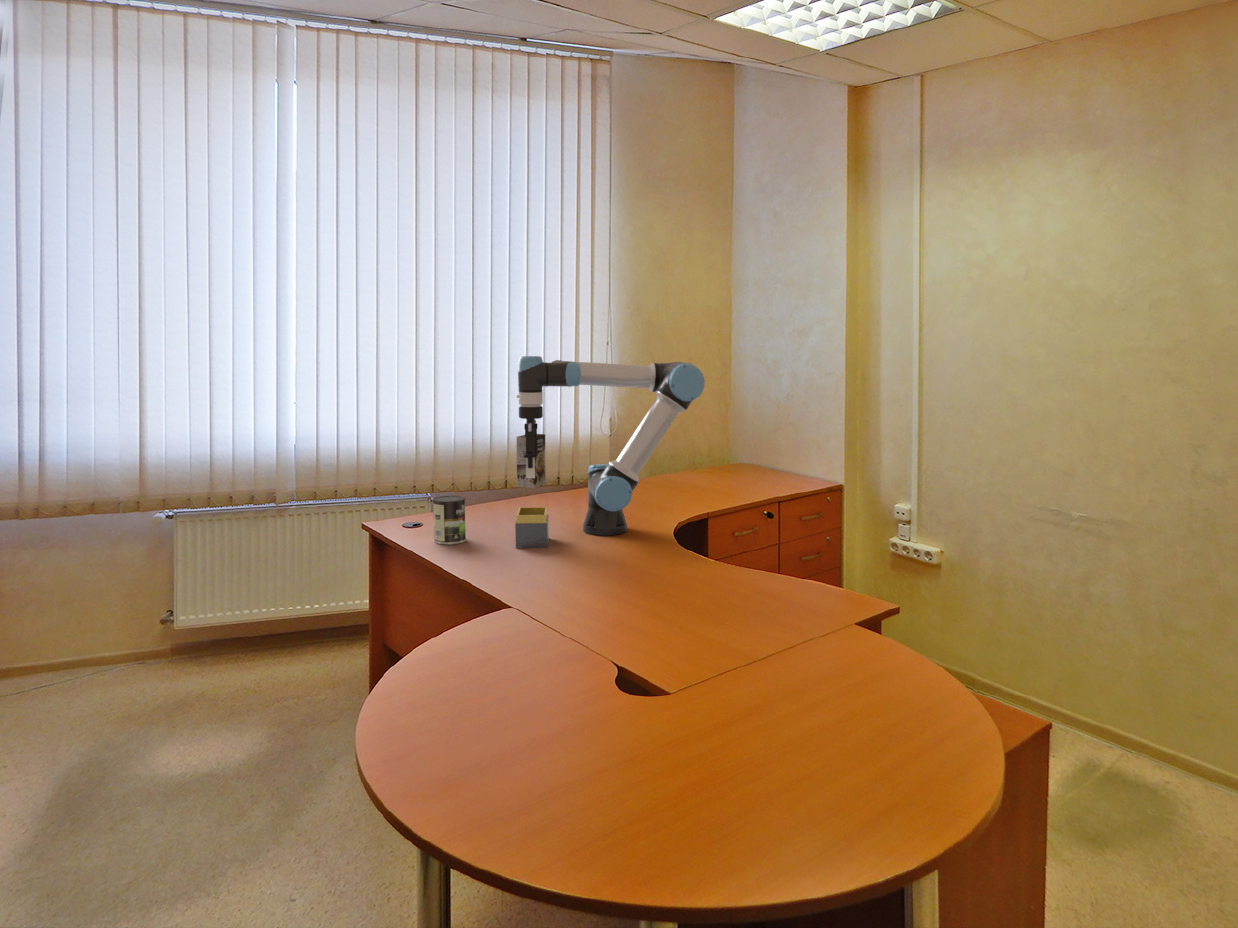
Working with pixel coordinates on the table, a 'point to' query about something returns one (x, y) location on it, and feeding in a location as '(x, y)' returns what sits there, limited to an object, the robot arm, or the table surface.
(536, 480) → the coffee box
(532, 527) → the grey yellow open box
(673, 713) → the table surface
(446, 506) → the coffee can
